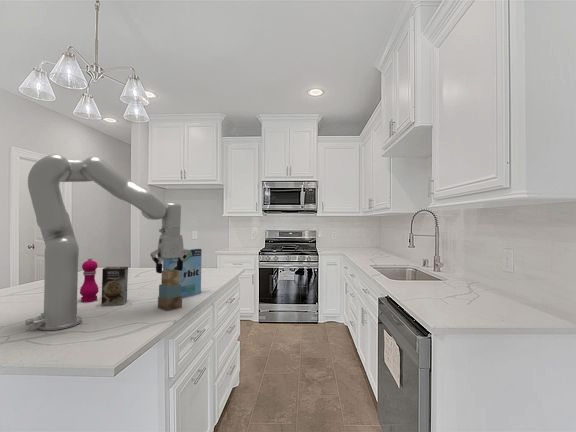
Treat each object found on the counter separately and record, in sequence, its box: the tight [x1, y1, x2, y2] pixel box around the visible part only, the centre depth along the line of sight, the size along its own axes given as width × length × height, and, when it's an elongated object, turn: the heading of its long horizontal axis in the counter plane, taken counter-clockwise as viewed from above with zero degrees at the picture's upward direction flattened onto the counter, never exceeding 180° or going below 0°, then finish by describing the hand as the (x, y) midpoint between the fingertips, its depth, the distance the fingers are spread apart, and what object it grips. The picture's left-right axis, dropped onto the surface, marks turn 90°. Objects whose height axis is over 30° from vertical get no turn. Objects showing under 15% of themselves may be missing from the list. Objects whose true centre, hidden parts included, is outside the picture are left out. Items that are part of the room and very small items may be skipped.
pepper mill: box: [79, 256, 100, 303], centre depth 140 cm, size 7×7×20 cm
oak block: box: [160, 269, 179, 286], centre depth 131 cm, size 5×5×6 cm
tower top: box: [158, 284, 181, 299], centre depth 131 cm, size 6×6×5 cm
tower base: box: [157, 295, 183, 312], centre depth 131 cm, size 7×7×5 cm
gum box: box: [162, 248, 203, 298], centre depth 150 cm, size 20×5×23 cm, turn 146°
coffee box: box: [100, 266, 129, 307], centre depth 135 cm, size 9×6×16 cm
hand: (169, 271), depth 131 cm, fingers open, 9 cm apart
